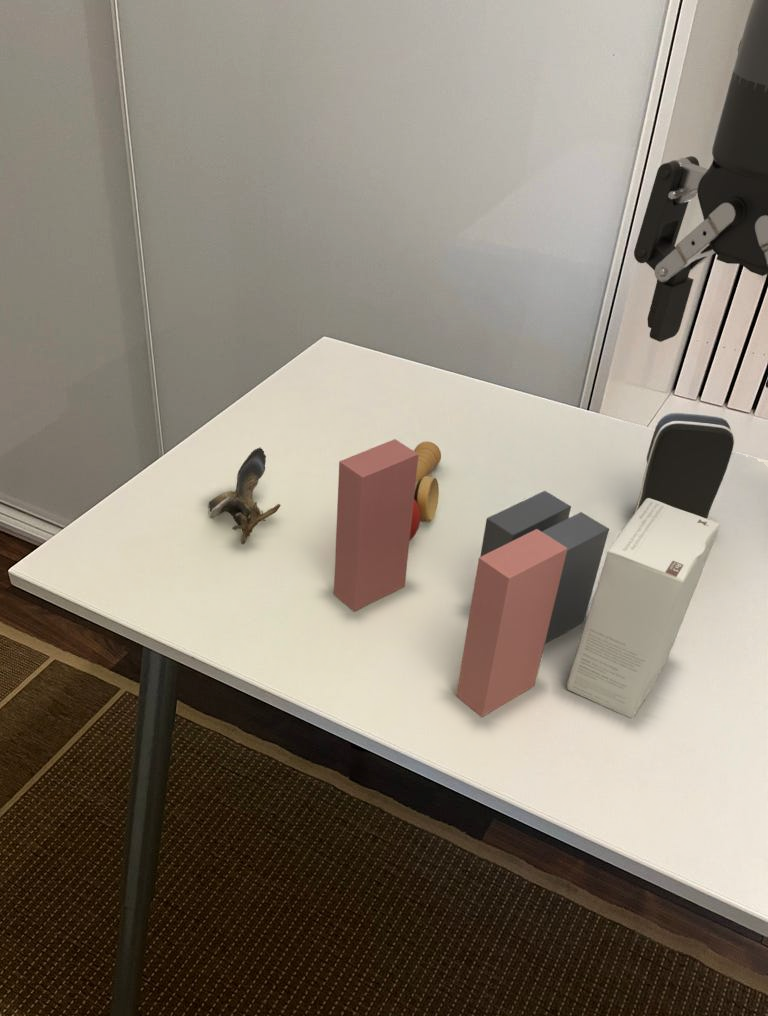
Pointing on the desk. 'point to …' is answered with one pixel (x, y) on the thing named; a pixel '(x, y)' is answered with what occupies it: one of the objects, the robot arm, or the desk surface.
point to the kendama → (425, 485)
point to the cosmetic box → (640, 605)
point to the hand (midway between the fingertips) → (718, 360)
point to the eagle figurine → (244, 496)
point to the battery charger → (687, 462)
